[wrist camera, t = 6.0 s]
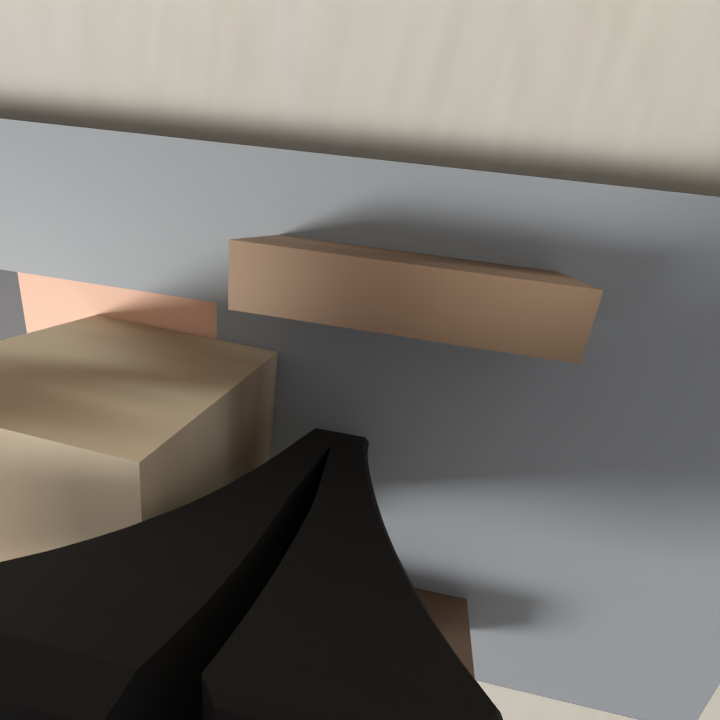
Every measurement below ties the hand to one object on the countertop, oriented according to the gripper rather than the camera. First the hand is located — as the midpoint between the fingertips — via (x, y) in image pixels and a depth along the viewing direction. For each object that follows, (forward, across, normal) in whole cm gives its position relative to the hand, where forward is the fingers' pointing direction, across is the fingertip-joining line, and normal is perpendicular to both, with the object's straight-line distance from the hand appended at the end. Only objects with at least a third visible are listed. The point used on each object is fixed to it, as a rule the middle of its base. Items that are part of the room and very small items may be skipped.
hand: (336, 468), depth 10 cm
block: (+1, +4, 0) cm, 4 cm away
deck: (+3, +2, 0) cm, 4 cm away
